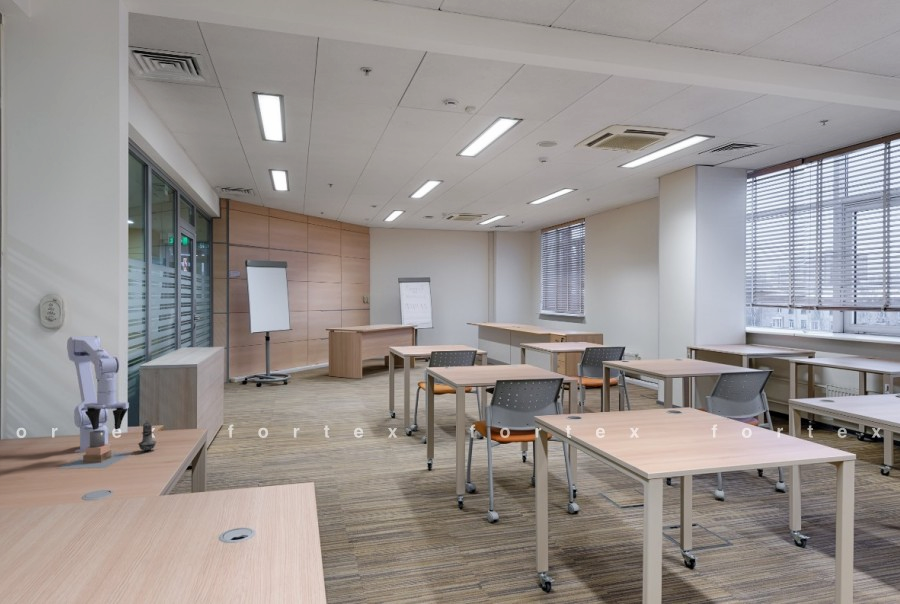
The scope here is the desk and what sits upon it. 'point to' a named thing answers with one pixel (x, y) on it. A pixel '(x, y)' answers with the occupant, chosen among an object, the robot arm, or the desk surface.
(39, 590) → the desk surface
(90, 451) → the tower middle
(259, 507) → the desk surface
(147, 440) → the salt shaker
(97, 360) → the robot arm
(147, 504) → the desk surface
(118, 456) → the mat
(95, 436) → the dark grey cylinder
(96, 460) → the tower base
